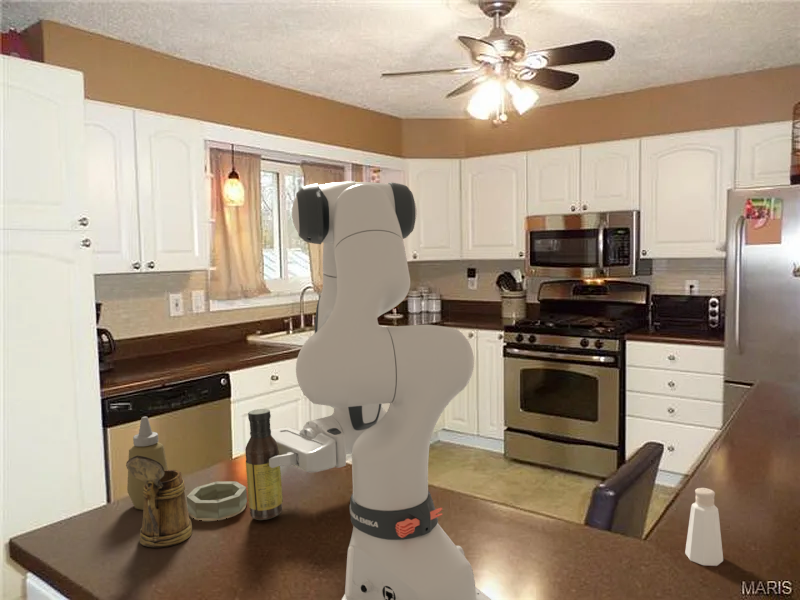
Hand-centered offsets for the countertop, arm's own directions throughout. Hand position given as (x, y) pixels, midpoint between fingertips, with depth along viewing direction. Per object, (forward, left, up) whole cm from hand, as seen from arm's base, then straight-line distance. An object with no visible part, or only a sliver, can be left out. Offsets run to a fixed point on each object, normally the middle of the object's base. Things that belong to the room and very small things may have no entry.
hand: (258, 458), depth 112 cm
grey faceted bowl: (+10, +4, -12) cm, 16 cm away
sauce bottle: (0, -1, -11) cm, 11 cm away
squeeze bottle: (+22, +13, -12) cm, 28 cm away
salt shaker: (-63, -44, -12) cm, 78 cm away
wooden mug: (+4, +17, -12) cm, 21 cm away
